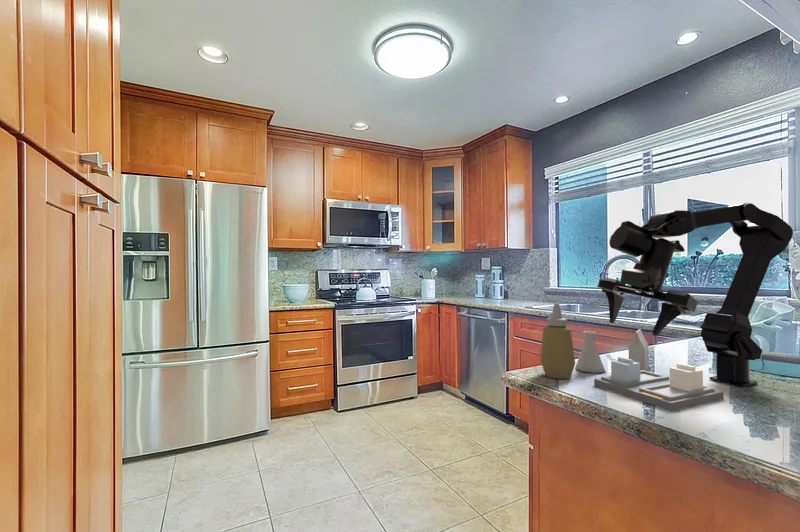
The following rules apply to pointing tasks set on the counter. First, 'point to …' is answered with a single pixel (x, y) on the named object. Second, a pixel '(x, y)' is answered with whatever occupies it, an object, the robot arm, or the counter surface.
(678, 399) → the grey divided tray
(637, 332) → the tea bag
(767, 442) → the counter surface
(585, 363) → the flask
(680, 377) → the tab ivory
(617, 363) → the tab blue
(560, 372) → the squeeze bottle
